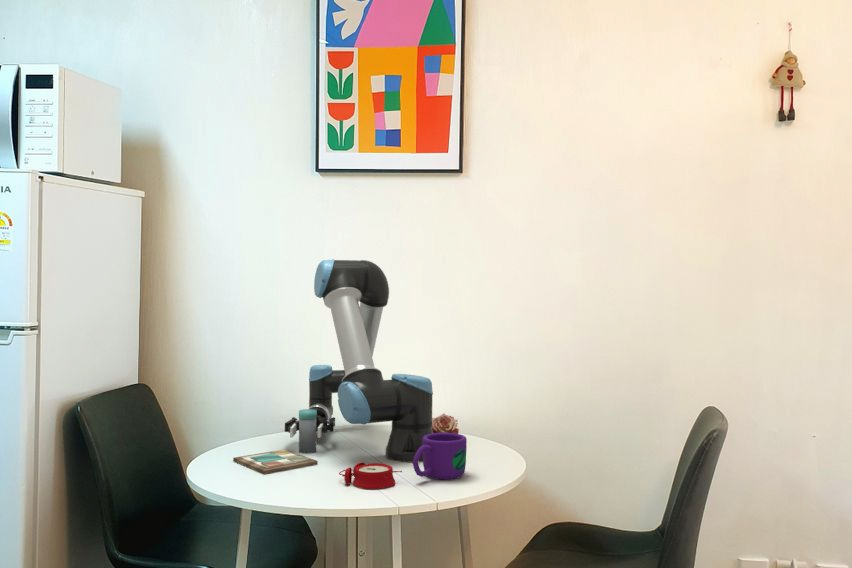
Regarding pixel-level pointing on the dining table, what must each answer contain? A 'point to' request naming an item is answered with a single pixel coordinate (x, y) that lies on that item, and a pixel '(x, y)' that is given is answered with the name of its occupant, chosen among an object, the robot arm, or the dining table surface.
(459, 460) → the mug
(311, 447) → the grey teal canister
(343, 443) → the dining table surface
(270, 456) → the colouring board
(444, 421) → the flower
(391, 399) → the robot arm
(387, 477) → the alarm clock
